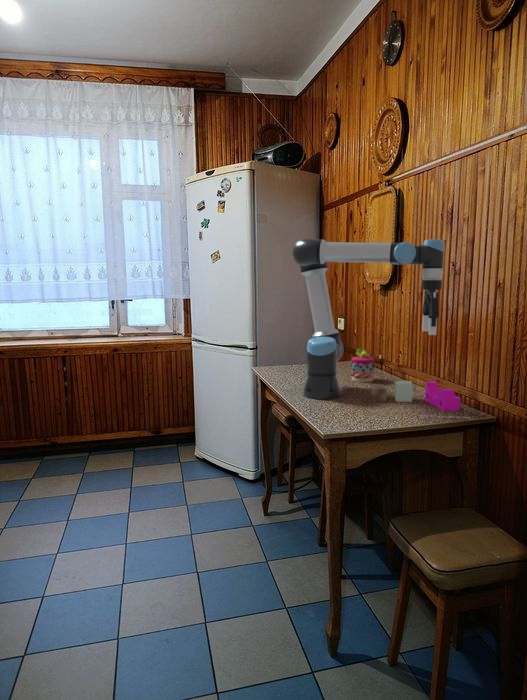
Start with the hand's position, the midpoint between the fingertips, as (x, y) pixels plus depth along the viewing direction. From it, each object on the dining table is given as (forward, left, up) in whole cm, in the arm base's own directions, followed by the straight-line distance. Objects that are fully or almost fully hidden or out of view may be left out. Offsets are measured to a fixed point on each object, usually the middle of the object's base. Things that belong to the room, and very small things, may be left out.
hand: (428, 333), depth 188 cm
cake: (-25, +23, -25) cm, 42 cm away
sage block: (-10, -11, -25) cm, 29 cm away
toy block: (+3, -17, -26) cm, 31 cm away
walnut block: (-20, -12, -25) cm, 34 cm away
